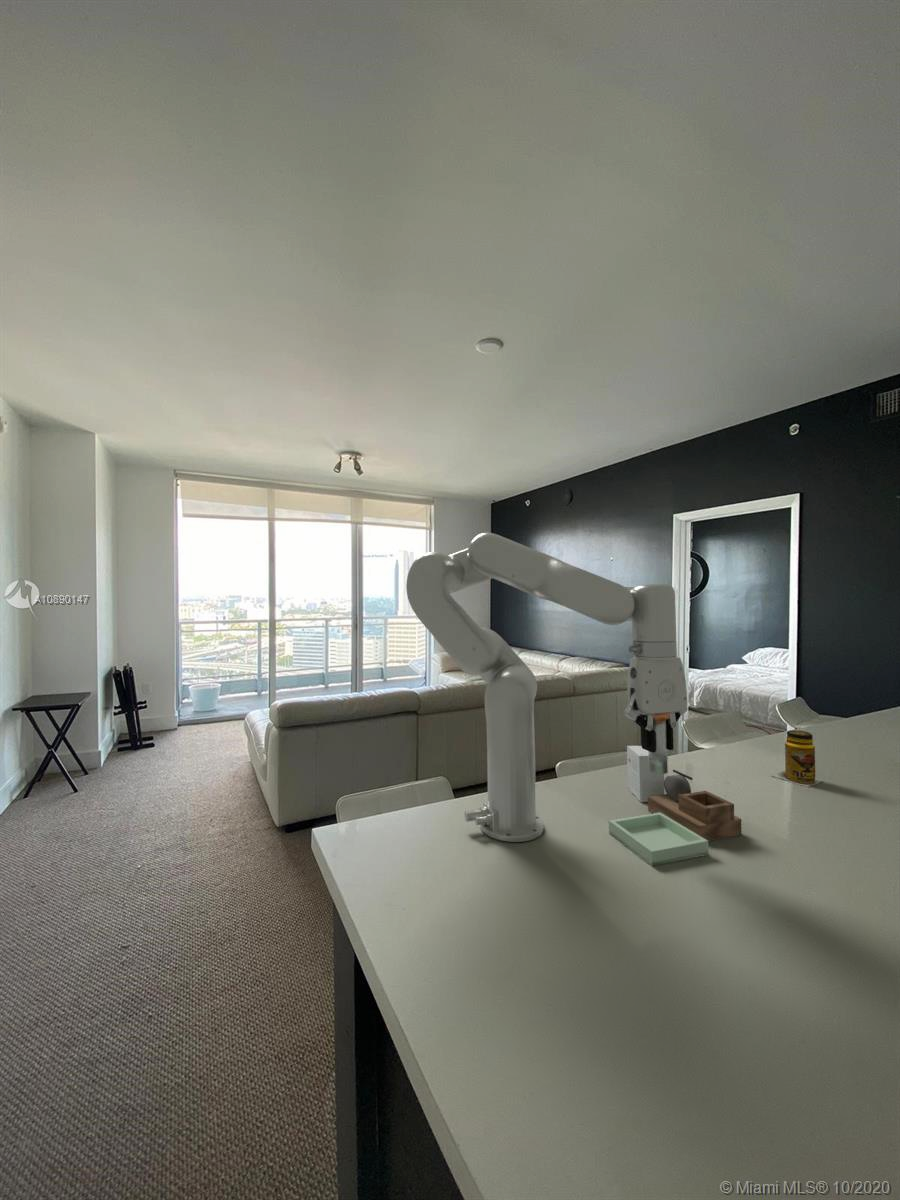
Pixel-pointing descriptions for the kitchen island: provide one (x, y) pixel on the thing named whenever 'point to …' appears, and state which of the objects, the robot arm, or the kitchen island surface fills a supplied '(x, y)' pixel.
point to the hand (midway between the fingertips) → (657, 748)
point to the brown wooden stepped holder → (696, 809)
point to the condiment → (799, 759)
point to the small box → (642, 775)
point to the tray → (658, 838)
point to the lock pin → (659, 745)
